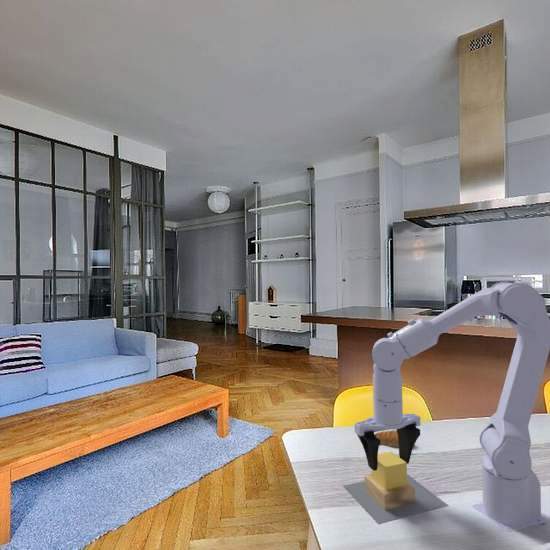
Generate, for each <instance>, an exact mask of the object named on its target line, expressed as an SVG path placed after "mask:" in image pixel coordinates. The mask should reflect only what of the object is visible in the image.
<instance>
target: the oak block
mask: <svg viewBox="0 0 550 550" xmlns="http://www.w3.org/2000/svg"><path fill="white" fill-rule="evenodd" d="M364 481H365V491H366V492H367V493H368V494H369V495H370V496H371V497H372V498H373V499H374V500H375V501H376V502H377V503H378V504H379V505H380V506H381V507H382V508H383V509H384V510H387V509H391V508H395V507H399V506H403V505H407V504H411V503H415V487H414V486H412V485H411V484H410V483H409V482H407V485H406V486H401V487H397V488H392V489H388V490H385V489H384V488H383V487H382V486H381V485H380V484H378V483H377V482H376V481H375V480H374V479H373V478H372V477H371V474H367V475H364Z"/></svg>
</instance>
